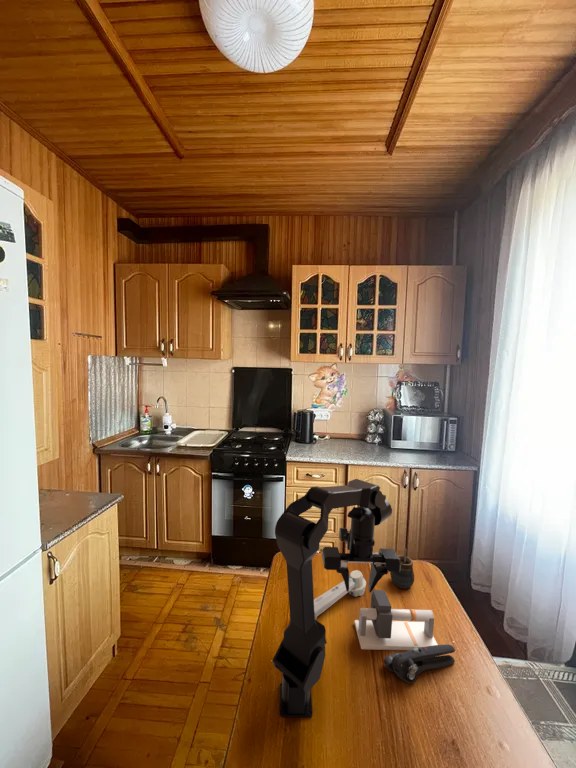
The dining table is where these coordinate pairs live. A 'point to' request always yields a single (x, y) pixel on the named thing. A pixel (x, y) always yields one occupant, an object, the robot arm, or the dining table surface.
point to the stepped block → (382, 614)
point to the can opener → (419, 661)
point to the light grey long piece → (340, 592)
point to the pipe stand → (397, 630)
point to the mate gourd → (404, 573)
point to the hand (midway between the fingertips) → (358, 590)
